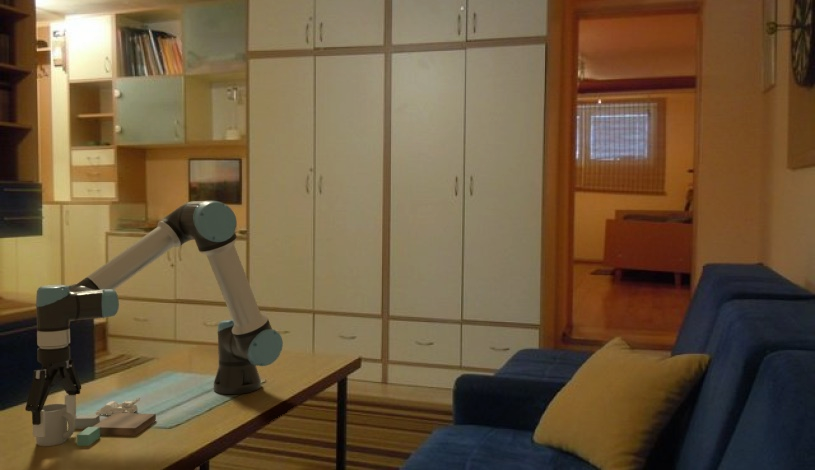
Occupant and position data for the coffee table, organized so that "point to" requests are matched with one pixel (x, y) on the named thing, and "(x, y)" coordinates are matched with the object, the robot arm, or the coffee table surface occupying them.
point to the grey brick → (86, 421)
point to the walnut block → (125, 423)
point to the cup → (56, 425)
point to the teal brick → (88, 436)
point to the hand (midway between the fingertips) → (55, 427)
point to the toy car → (118, 407)
